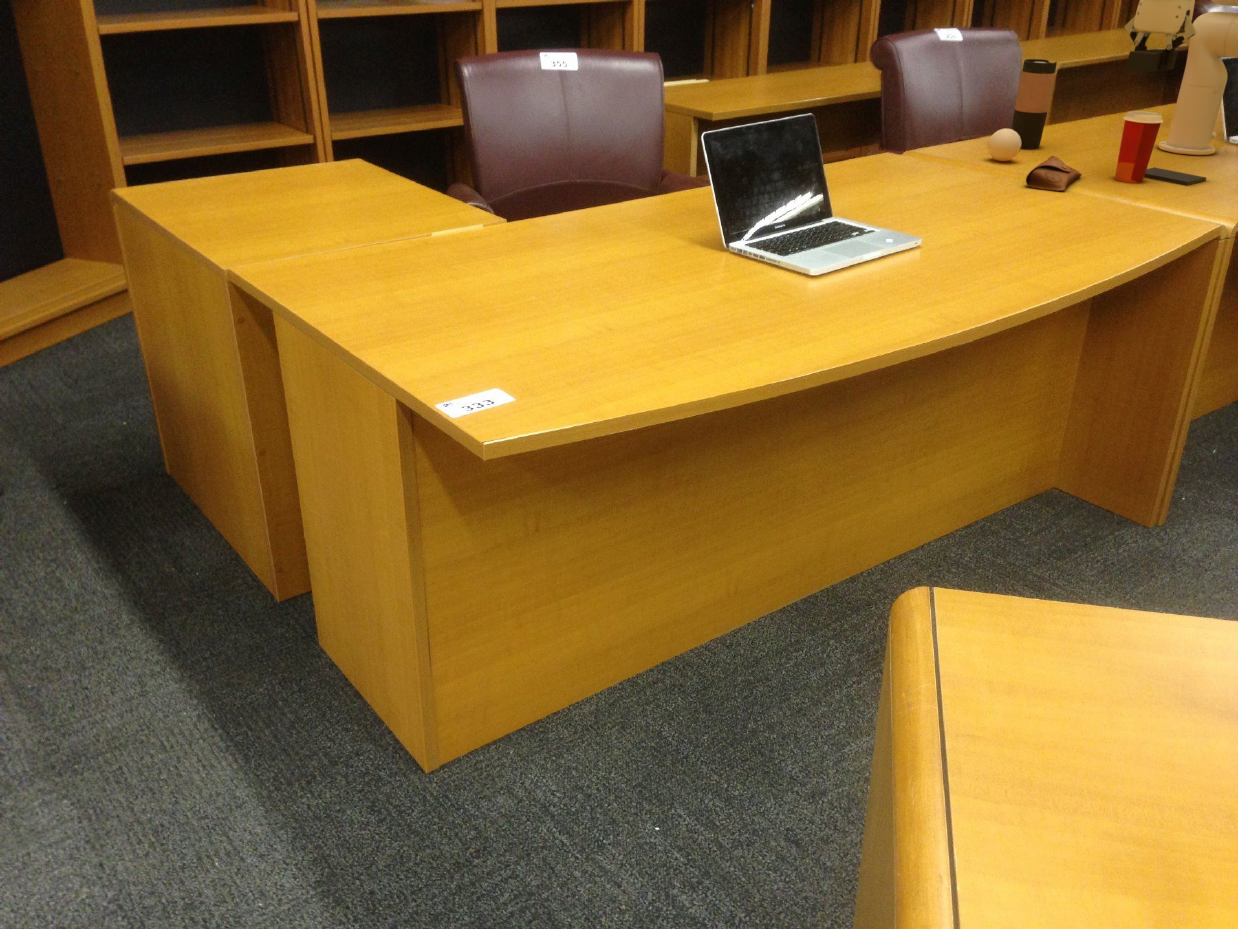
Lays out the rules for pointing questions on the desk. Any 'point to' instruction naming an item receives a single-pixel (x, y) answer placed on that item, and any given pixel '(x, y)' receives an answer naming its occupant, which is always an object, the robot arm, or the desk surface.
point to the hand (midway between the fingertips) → (1150, 66)
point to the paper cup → (1137, 145)
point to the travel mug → (1033, 101)
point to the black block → (1147, 60)
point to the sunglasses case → (1052, 175)
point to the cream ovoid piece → (1004, 145)
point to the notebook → (1173, 176)
